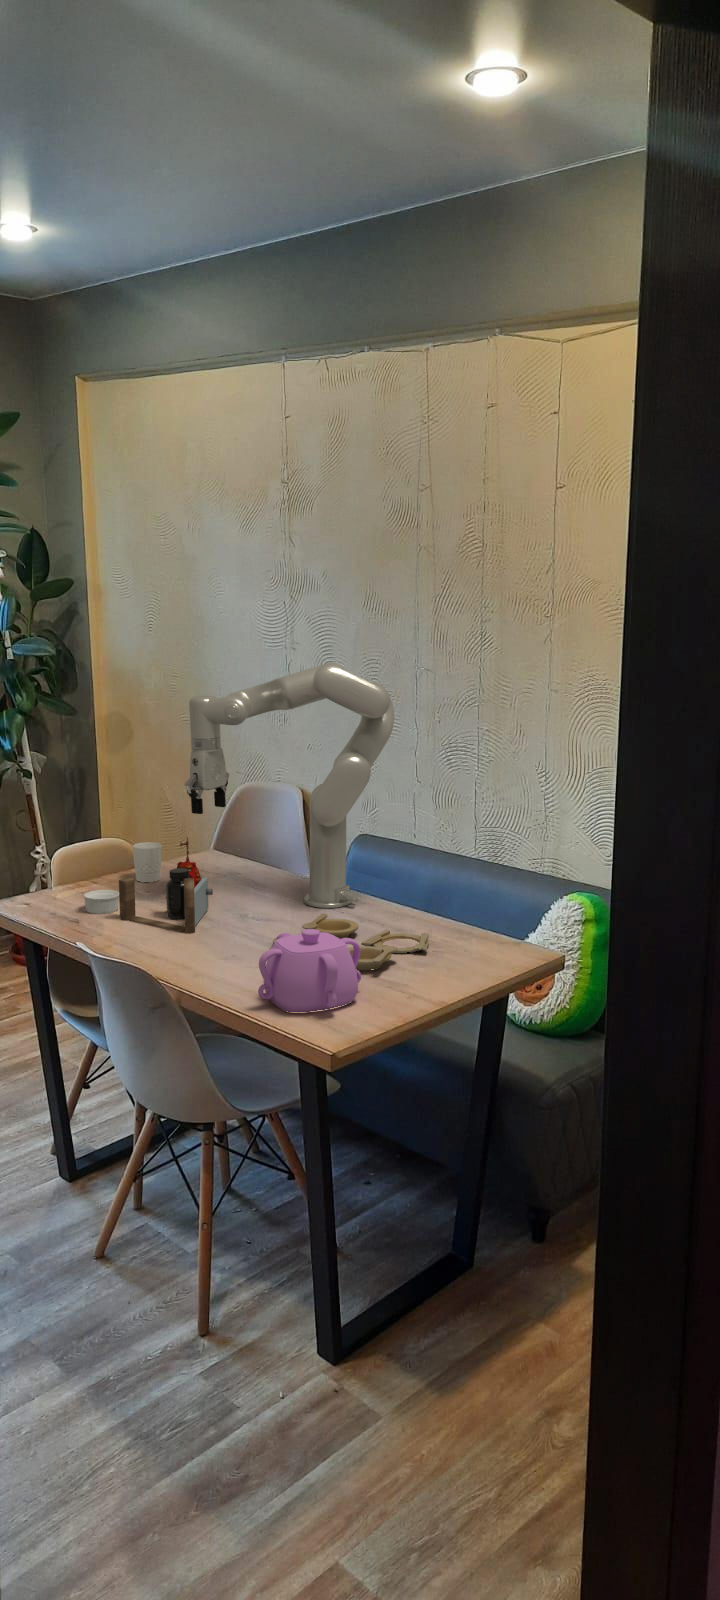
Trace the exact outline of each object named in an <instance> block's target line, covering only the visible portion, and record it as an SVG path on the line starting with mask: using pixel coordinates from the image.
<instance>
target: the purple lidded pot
mask: <svg viewBox="0 0 720 1600" xmlns="http://www.w3.org/2000/svg"><path fill="white" fill-rule="evenodd" d="M300 933H301V934H300ZM300 933H299V934H293V935H291V933H290V932H283V933H280V934H278V935H277V936H276V938H277V940H276V941H275V943H274V944H272V946H273V947H272V946H271V947H272V949H270V948H269V949H270V950H269V949H268V950H266V951H265V952H263V953H262V954H261V956H260V957H259V961H258V967H259V972H260V975H261V978H262V979H263V984H261V985H260V986H259V987H258V991H257V993H258V996H259V998H261V999H262V1000H270V1001H271V1002H272V1004H273V1005H275V1004H276V1005H277V1006H276V1005H275V1006H276V1007H278V1008H279V1007H280V1008H281V1009H280V1010H282V1009H283V1010H282V1011H284V1010H285V1011H288V1012H310V1011H317V1010H325V1009H330V1008H334V1007H338V1006H342V1005H345V1004H348V1003H350V1002H352V1001H354V1000H355V998H356V996H357V994H358V992H359V983H360V982H361V981H362V980H361V979H362V973H361V972H360V970H356V969H355V968H356V966H357V964H358V961H359V958H360V953H361V949H360V946H361V945H360V944H359V943H358V941H356V940H355V939H353V938H349V937H347V938H342V939H339V938H337V937H336V936H334V935H332V934H329V933H323V932H320V931H319V930H316V929H303V930H301V932H300ZM348 945H352V947H354V951H353V955H352V957H351V954H350V952H349V949H348V948H349V947H348ZM264 991H265V992H264ZM352 1003H353V1002H352ZM285 1011H284V1012H285ZM288 1012H287V1013H288Z"/></svg>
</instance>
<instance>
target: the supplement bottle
mask: <svg viewBox="0 0 720 1600" xmlns="http://www.w3.org/2000/svg"><path fill="white" fill-rule="evenodd" d="M176 868H177V867H176ZM176 868H172V869H170V870H169V880H168V881H167V882H166V884H165V894H166V896H165V897H166V915H167V918H168V919H170V920H172V921H173V920H174V921H185V908H184V879H186V878H189V870H188V869H185V868H177V869H176Z"/></svg>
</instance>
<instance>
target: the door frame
mask: <svg viewBox="0 0 720 1600" xmlns="http://www.w3.org/2000/svg"><path fill="white" fill-rule="evenodd" d="M135 888H136V887H135V878H132V877H125V878H121V879H119V880H118V893H119V898H118V905H119V919H120V920H122V921H126V922H127V921H129V922H133V923H137V924H142V925H146V926H149V927H150V926H151V927H155V928H160V929H163V930H164V929H165V930H168V931H174V932H179V933H183V932H184V933H185V934H194V933H196V926H195V900H194V879H193V878H186V879H184V908H185V920H184V925H180V924H176V923H175V924H174V923H170V922H165V921H161V920H157V919H152V918H147V917H142V916H136V891H135V890H136V889H135Z"/></svg>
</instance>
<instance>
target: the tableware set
mask: <svg viewBox="0 0 720 1600" xmlns="http://www.w3.org/2000/svg"><path fill="white" fill-rule="evenodd" d="M301 928H302V929H303V930H306V929H316V930H319V931H320V932H323V933H329V934H332V935H334V936H336V937H337V938H339V939H342V938H349V936H350V935H351V934H352V933H354V932H356V931H357V930H358V929H359V924H358V922H355V921H353V920H350V919H345V918H328V914H327V913H321V914H320V915H317V917H316V918H315V919H314V920H312V921H311V922H306V923H303V924H302V925H301ZM429 938H430V934H429V933H428V932H423V933H422V932H421V934H420V935H419V934H414V933H406V932H405V933H404V932H398V933H396V932H395V933H391V930H389V929H384V930H382V931H380V932H378V933H376V934H374V935H373V936H371V937H369V938H367V939H365V940H363V941H362V942H361V944H360V945H359V946H360V949H361V953H360V958H359V961H358V964H357V966H356V968H355V969H358V971H360V970H371V969H376V968H379V967H380V966H383V965H382V964H383V963H384V962H387V961H389V960H390V959H392V954H395V953H396V954H408V953H407V952H410V953H416V951H417V952H420V950H421V951H427V950H428V947H429V945H430V941H429ZM395 939H412V940H415V941H417V942H419V944H416V945H415V946H413V947H407V948H397V947H394V946H388V945H383V943H384V942H386V941H389V940H395ZM276 940H277V937H275V938H274V939H273V940H272V946H271V947H269V948H268V950H270V949H272V947H273V945H274V943H275V941H276ZM348 949H349V952H350V954H351V957H352V955H353V951H354V947H353V946H352V947H348ZM380 968H381V967H380ZM380 968H379V969H380ZM376 970H377V969H376ZM371 971H372V970H371Z"/></svg>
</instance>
